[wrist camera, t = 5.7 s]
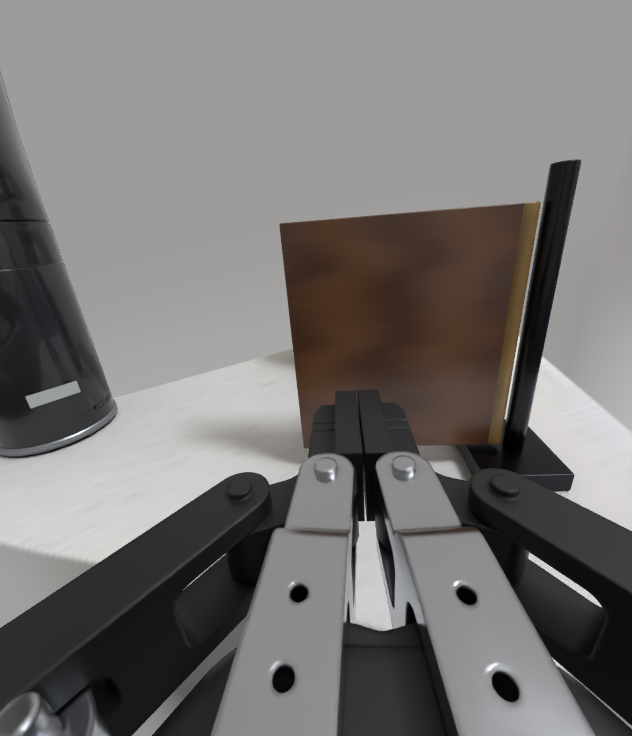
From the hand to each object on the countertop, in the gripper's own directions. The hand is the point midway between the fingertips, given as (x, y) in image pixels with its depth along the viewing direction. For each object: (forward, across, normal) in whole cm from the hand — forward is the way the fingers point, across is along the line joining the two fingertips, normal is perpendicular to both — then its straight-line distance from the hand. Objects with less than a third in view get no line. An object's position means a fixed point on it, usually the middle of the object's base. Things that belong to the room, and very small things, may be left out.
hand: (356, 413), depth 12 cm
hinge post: (+9, -9, +9) cm, 15 cm away
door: (+9, -3, +7) cm, 12 cm away
